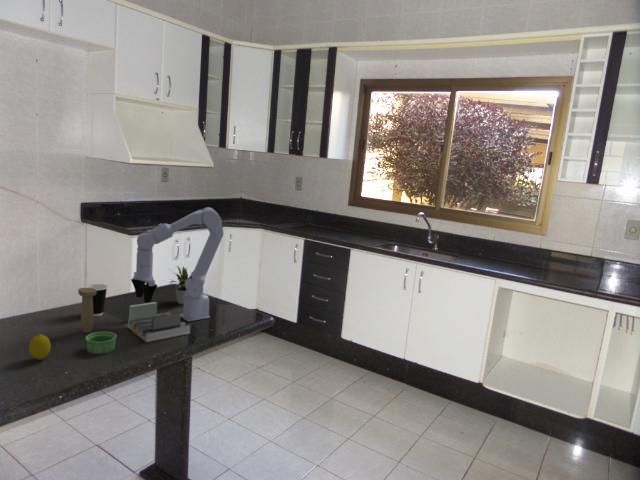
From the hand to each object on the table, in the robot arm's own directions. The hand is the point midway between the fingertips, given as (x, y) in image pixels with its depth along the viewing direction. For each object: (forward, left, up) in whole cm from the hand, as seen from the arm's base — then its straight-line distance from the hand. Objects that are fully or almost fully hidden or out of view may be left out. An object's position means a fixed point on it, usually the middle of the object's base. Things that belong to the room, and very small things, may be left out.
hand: (143, 299), depth 178 cm
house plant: (-22, -13, -8) cm, 27 cm away
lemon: (+39, +19, -8) cm, 44 cm away
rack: (0, +14, -8) cm, 16 cm away
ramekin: (+22, +20, -8) cm, 31 cm away
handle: (+21, +3, -8) cm, 23 cm away
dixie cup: (+13, -13, -8) cm, 20 cm away
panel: (0, 0, -8) cm, 8 cm away
